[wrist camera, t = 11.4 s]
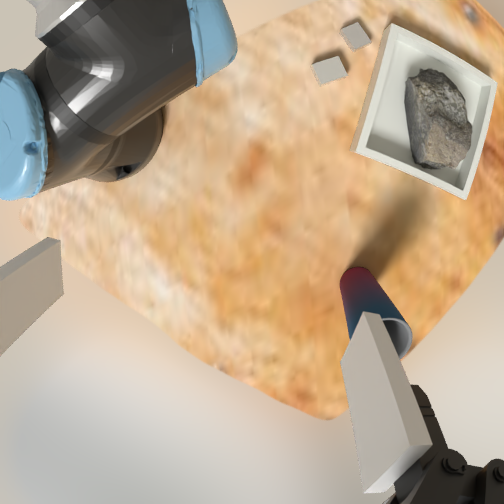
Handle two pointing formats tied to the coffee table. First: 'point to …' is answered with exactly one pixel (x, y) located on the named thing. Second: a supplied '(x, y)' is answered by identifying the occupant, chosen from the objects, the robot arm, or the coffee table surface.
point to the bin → (394, 116)
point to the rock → (436, 120)
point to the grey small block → (329, 70)
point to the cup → (373, 307)
